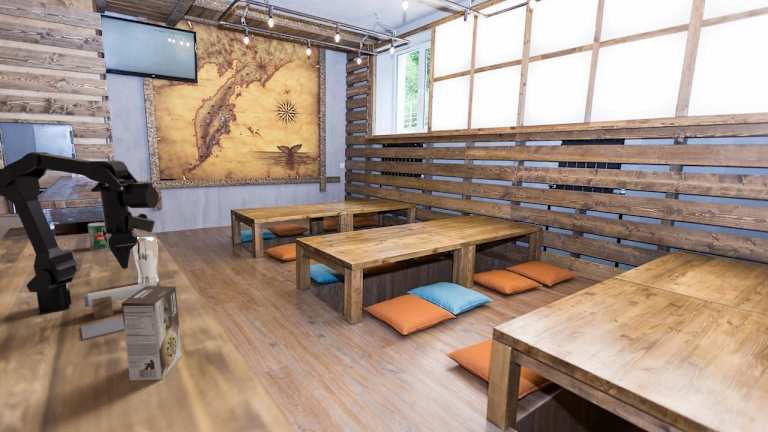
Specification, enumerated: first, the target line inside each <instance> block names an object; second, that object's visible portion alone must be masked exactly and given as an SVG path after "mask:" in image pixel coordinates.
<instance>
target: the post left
mask: <svg viewBox="0 0 768 432" xmlns="http://www.w3.org/2000/svg"><path fill="white" fill-rule="evenodd" d="M91 307H92V314H93V318H94V320H99V319H104V318H109V317H114V310H113V309H114V308H113V301H112V299H111V298H107V299H102V300H97V301H93V305H92V306H91Z"/></svg>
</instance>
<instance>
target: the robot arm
mask: <svg viewBox="0 0 768 432" xmlns="http://www.w3.org/2000/svg"><path fill="white" fill-rule="evenodd" d="M48 170H51V171H56V172H62V173H67V174H74V175H80V176H84V177H86V178H87V179H89V180H90V181H94V182H97V183H96V184H95V186H93V187H92V188H91V189H90V191H91V192H92V193H99V192H100V193H99V194H100V201H101V208H102V212H101V214H102V217H103V222H104V225H105V226H104V227H103V228H102V235H103V236H105V237H103V238H104V239H105V241H106V243H107V244H108V247H109V250H110V251H111V253H112V254H113V256H114V258H115V259H116V261H117V262H118V264H119V267H121V269H123V270H126V269H128V267H129V261H130V254H131V251H132V250H133V247H134V246H135V245H136V244H137V243H138V238H139V237H138V234H137V233H135V232H134V231H135V230H139V231H140V230H141V231H145V232H147V233H153V230H154V227H155V223H156V222H155V220H154V219H151V218H148V215H147V214H145V213H141V212H140V213H139V214H138V215H132V212H131V211H130V210H129V209H154V208H156V207H157V206H158V204H159V200H160V195H159V193H158V191H157V189H156V188H155V187H154V186H153V182H151V181H150V182H148V181H147V182H139V181H138V180H137V179H136V177H134V175H133V174H132V173H131V172H130V171H129V169H128V167H127V165H126V163H125V162H124V161H121V160H89V159H82V158H77V157H69V156H66V155H64V156H63V155H59V154H58V155H57V154H52V153H49V152H46V151H45V152H44V151H41V152H40V151H39V152H38V151H37V152H36V151H35V152H32V151H31V152H29V153H27V154H25V155H24V156H22V157H21V158H19V159H18V160H15V161H13V162H11V163H9V164H7V165H5V166H4V167H3V168H0V195H1V196H3V197H4V198H5V199H6V200H7V201H9V202H11V203H12V204H13V206H14V208H15V210H16V212H17V214H18V217H19V219H20V222H21V223H22V225H23V228H24V231H25V233H26V235H27V238H28V239H29V242H30V244H31V246H32V248H33V249H32V250H33V251H34V252H35V259H34V261H33V262H34V263H33V270H34V274H35V275H34V276H33V278H31V279H30V280H29V282H28V283H27V284H26V286H25V287H26V288H27V289H28V291H29V293H36V299H37V303H38V304H37V305H38V312H37V313H38V314H39V315H42V314H48V313H52V312H57V311H64V310H68V309H70V308H71V305H72V297H71V290H70V288H69V287H68V286H67V284H69V283H71V282H73V279H74V275H76V272H77V265H78V263H77V261H76V260H75V257H74V255H73V253H72V251H71V250H70V251H67V252H66V251H64V250H63V249H61V248H60V246H59V245H58V242H57V240H56V238H55V235H54V233H53V230H52V228H51V226H50V223H49V221H48V219H47V217H46V215H45V212H44V210H43V208H42V205H41V203H40V200H39V194H40V190H41V186H40V185H41V184H40V181H39V180H40V179H41V178H43V177H44V176H45V175H46V173H47V171H48ZM106 234H107V236H106Z"/></svg>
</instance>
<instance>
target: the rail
mask: <svg viewBox="0 0 768 432" xmlns="http://www.w3.org/2000/svg"><path fill="white" fill-rule="evenodd" d="M145 286H161V283H160V281H159V282H158V281H154V282H149V283H143V284H138V283H137V284H134V285H128V286H122V287H118V288H117V287H116V288H112V289H111V288H110V289H106V290H100V291H95V292H89V293H83V301H84V307H85V308H87V307H92V305H93V301H97V300H102V299H107V298H111V299H112V302H115V301H116V302H117V301H121V300H127V299H128V298H129V297H131V296H132V295H134V294H135V293H136V292H138V291H139V290H141V289H142V288H144V287H145Z"/></svg>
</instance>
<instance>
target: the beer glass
mask: <svg viewBox="0 0 768 432" xmlns="http://www.w3.org/2000/svg"><path fill="white" fill-rule="evenodd" d="M137 238H138V243H137V244H136V245H135V246H134V247H133V248H132V253H133V259H134V262H135V265H136V269H137V272H138V273H137V274H138V278H137V285H138V284H143V283H149V282H154V281H158V282H159V283H160V279H159V275H158V262H159V247H158V242H157V241H158V240H157V237H156V236H141V237H140V236H139V237H137Z"/></svg>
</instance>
